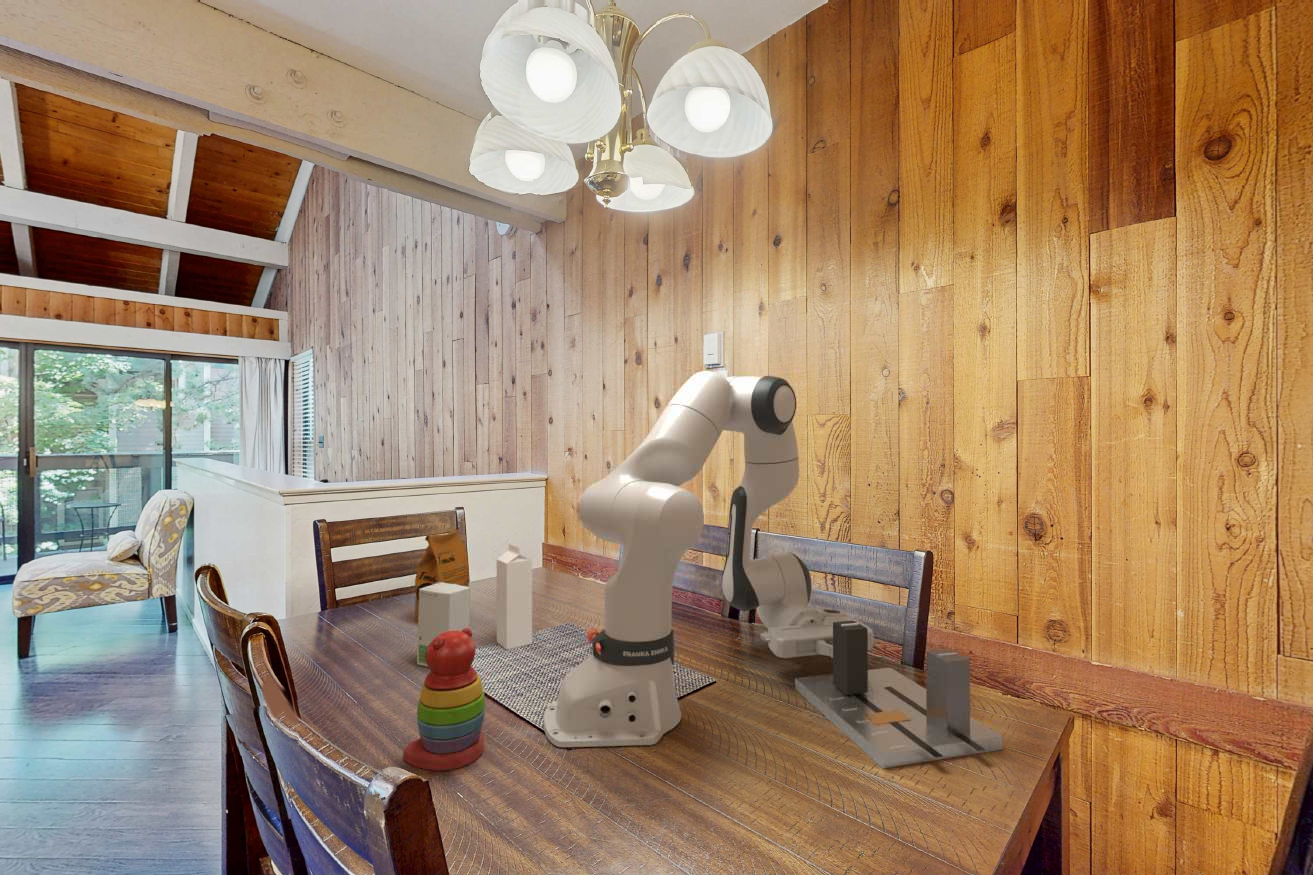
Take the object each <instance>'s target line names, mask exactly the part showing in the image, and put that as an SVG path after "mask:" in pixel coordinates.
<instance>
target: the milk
mask: <svg viewBox="0 0 1313 875" xmlns="http://www.w3.org/2000/svg"><path fill="white" fill-rule="evenodd" d="M520 553H521V548H520V546H516V545H515V544H512V543H509V544H508V550H507V551H505V552H504V553H503V554H501V555H499V557H497V558H496V642H497V644H499V645H500V646H501V647H503V648H504V649H505V650H507V651H508V650H512V649H516V648H520V647H525V646H528V645H532V644H533V560H532V559H530V558H529V557H526V556H524V555H522V554H520Z"/></svg>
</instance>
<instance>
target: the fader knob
mask: <svg viewBox="0 0 1313 875" xmlns="http://www.w3.org/2000/svg"><path fill="white" fill-rule="evenodd" d="M868 655H869V650H868V628H866V627H864V626H862V625H860V624H859V623H857V622H855V621H842V622H833V658H832V674H833V685H835V686H836V687H837V688H839V689H840V690H841V691H842V692H844V693H845V694H846V695H851V694H859V693H867V692H868V670H869V669H868V668H869V666H868V664H869V662H868V660H869V659H868V657H869V656H868Z"/></svg>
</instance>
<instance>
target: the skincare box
mask: <svg viewBox="0 0 1313 875" xmlns="http://www.w3.org/2000/svg"><path fill="white" fill-rule="evenodd" d="M470 604H471V587H470V586H469V587H466V586H460V585H457V584H448V583H442V582H440V583H436V584H433V585H430V586H427V587H424V588H421V589H419V616H418V622H417V650H416V651H417V652H416V654H417V656H416V664H417V665H418V666H422V667H427V668H429V667H428V665H427V663H426V660H425V651H426V649H427V647H428V646H429V644H430V643H431V642H432V640H433V639H434V638H435V637H437V636H438V635H440V634H442V633H444V632H448V631H462V630H463V629H464V628H469V629H470V608H471V605H470Z"/></svg>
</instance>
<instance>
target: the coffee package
mask: <svg viewBox="0 0 1313 875" xmlns="http://www.w3.org/2000/svg"><path fill="white" fill-rule="evenodd" d="M424 540H425V541H426V542H427V544H428V546H427V547H426V549H425V552H424V556H423V558H422V559H421V561H420V563H419V565H418V567H417V570H416V574H415V575H416V576H415V579H414V588H415V599H414V600H415V603H414V617H415V620H416V622H417V623H418V616H419V589H421V588H424V587H427V586H430V585H433V584H436V583H440V582H442V583H448V584H457V585H460V586H466V587H470V584H469V583H470V582H469V581H470V580H469V579H470V578H469V577H470V575H469V574H470V573H469V561H468V553H467V551H466V547H465V545H464V542H463V541H462V538H461V535H460V533H459V530H458V529H453V530H452V531H450V532H449V533H445V534H431V535H430V534H426V536H425V538H424Z"/></svg>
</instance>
